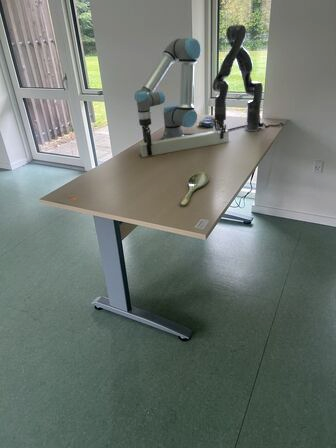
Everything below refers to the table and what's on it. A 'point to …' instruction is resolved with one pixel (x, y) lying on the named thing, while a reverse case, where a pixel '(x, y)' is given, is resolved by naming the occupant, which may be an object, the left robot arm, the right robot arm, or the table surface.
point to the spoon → (195, 184)
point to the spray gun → (207, 121)
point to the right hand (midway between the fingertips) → (220, 137)
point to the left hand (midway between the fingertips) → (148, 153)
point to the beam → (184, 142)
